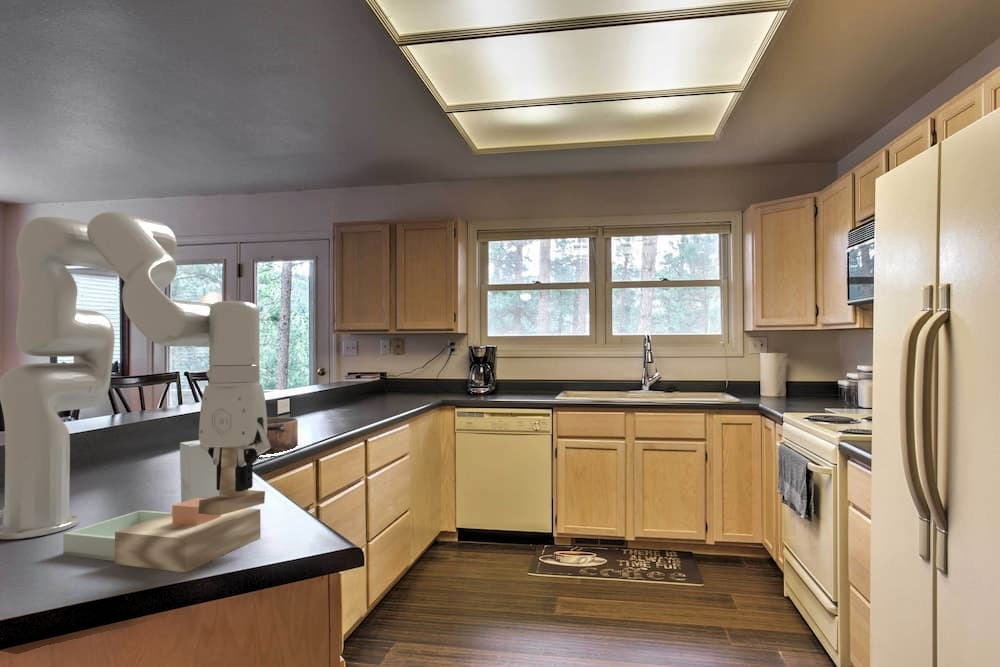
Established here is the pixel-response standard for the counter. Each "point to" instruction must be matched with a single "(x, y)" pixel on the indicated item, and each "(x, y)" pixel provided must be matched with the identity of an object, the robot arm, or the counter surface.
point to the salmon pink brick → (190, 513)
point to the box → (103, 535)
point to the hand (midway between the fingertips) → (234, 488)
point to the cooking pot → (281, 434)
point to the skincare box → (197, 472)
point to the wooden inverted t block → (230, 490)
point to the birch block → (185, 541)
